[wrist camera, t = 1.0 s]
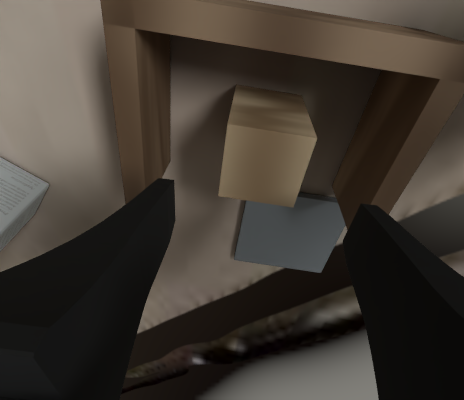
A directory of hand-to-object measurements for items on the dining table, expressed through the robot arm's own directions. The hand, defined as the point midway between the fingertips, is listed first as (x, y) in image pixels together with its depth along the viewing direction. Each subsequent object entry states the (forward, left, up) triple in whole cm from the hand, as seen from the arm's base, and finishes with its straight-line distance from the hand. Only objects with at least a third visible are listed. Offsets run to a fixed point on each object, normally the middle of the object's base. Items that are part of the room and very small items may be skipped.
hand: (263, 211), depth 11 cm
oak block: (0, 0, -9) cm, 9 cm away
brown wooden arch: (0, -1, -9) cm, 9 cm away
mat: (-4, +9, -9) cm, 13 cm away
